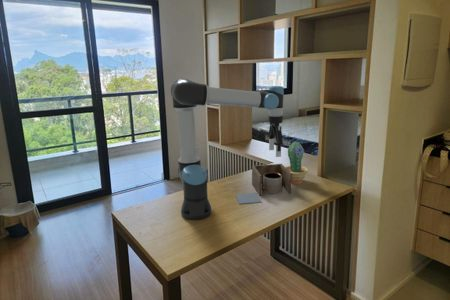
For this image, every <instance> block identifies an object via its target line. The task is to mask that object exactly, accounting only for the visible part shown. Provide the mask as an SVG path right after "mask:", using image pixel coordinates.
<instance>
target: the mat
mask: <svg viewBox="0 0 450 300" xmlns="http://www.w3.org/2000/svg"><path fill="white" fill-rule="evenodd" d="M235 198H236V200H237V203H238V204H239V205H246V204H258V203H260V202H261V203H262V200H261V198H260V196H259V195H258V193H257V192H250V193H249V192H248V193H238V194H237V193H236V194H235Z"/></svg>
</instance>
